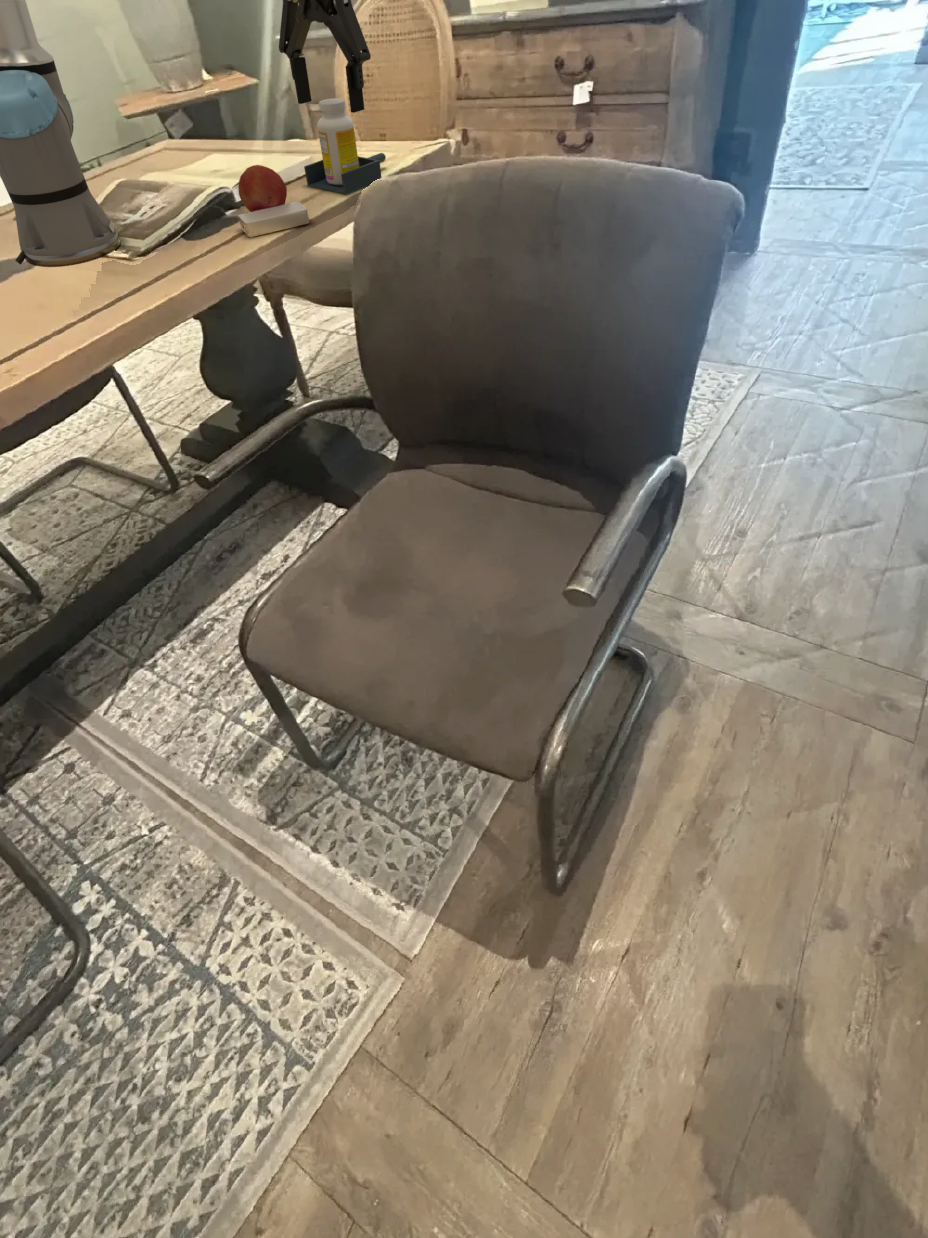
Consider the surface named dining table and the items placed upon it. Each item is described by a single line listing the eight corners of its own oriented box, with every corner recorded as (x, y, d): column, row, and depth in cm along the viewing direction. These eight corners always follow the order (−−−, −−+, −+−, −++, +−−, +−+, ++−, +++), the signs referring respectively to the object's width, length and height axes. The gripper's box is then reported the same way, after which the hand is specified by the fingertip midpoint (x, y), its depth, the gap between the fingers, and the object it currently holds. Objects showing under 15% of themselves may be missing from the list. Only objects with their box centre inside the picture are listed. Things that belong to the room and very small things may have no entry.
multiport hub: (298, 201, 124) (301, 215, 126) (237, 214, 121) (241, 229, 123) (307, 209, 122) (310, 223, 124) (245, 223, 119) (249, 238, 120)
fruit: (297, 182, 128) (291, 234, 127) (257, 186, 130) (251, 238, 129) (274, 148, 120) (268, 204, 119) (232, 154, 122) (225, 209, 121)
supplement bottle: (365, 176, 140) (355, 96, 131) (354, 187, 136) (343, 105, 126) (333, 175, 141) (321, 96, 132) (321, 186, 137) (307, 105, 128)
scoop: (346, 194, 134) (342, 174, 131) (307, 186, 139) (303, 166, 136) (404, 171, 143) (403, 151, 140) (366, 163, 147) (364, 144, 145)
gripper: (382, -55, 111) (395, 110, 126) (274, -57, 122) (298, 95, 137) (348, -51, 107) (366, 119, 122) (240, -54, 118) (269, 102, 133)
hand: (330, 106), depth 130 cm, fingers open, 13 cm apart
